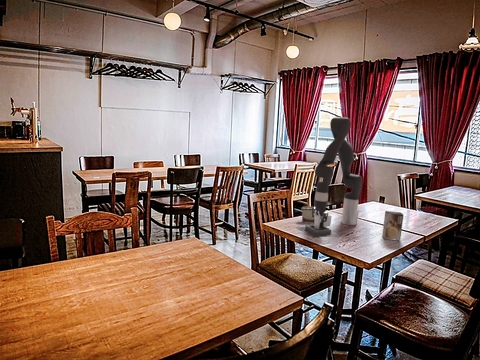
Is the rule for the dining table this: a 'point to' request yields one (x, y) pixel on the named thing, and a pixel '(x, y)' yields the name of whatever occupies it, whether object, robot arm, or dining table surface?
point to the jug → (317, 222)
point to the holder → (317, 231)
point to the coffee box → (392, 225)
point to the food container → (307, 214)
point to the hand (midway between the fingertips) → (318, 226)
